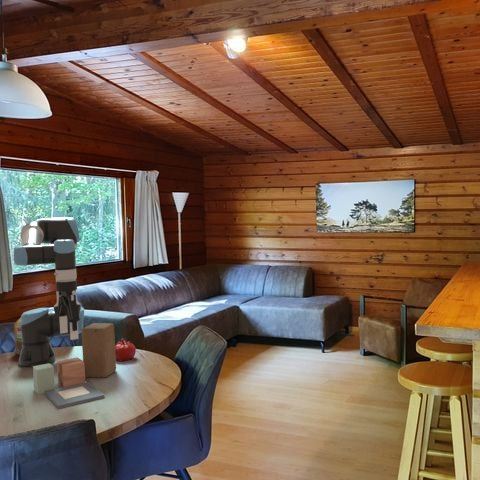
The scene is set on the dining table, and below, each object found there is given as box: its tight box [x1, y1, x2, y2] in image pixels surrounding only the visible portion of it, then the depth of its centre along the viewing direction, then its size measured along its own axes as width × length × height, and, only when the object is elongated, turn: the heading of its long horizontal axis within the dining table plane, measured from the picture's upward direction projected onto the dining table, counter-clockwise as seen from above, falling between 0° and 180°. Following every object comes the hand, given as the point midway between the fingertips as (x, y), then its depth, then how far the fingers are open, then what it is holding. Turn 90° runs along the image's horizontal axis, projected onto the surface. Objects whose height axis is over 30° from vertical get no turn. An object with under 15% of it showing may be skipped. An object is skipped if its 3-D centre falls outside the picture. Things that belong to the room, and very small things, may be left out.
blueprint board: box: [43, 381, 105, 410], centre depth 185 cm, size 18×16×1 cm
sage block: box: [32, 363, 56, 395], centre depth 191 cm, size 6×6×9 cm
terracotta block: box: [56, 357, 86, 388], centre depth 197 cm, size 8×8×9 cm
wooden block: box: [81, 322, 117, 379], centre depth 208 cm, size 10×10×20 cm
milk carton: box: [13, 311, 26, 356], centre depth 245 cm, size 10×11×19 cm
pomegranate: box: [115, 338, 137, 362], centre depth 229 cm, size 10×10×9 cm
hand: (69, 336), depth 196 cm, fingers open, 13 cm apart
